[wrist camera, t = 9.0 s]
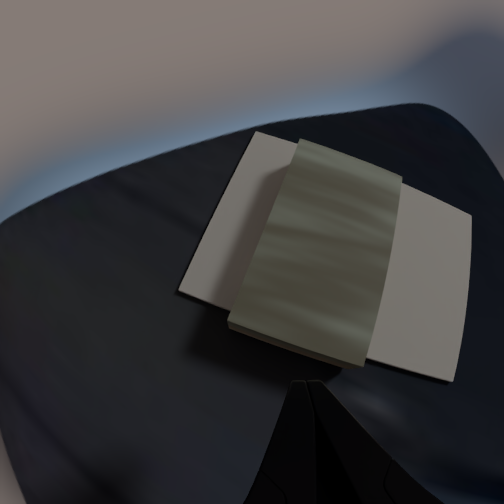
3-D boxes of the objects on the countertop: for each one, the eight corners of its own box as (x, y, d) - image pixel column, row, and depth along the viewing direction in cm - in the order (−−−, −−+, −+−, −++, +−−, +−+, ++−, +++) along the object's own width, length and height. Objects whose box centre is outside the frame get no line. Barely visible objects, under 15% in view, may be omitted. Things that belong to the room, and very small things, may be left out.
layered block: (363, 366, 14) (402, 176, 19) (227, 320, 15) (300, 138, 19) (347, 369, 17) (388, 196, 21) (229, 328, 17) (294, 162, 22)
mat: (450, 382, 16) (452, 381, 16) (179, 291, 18) (178, 289, 18) (469, 217, 21) (471, 215, 21) (255, 134, 23) (255, 131, 23)
